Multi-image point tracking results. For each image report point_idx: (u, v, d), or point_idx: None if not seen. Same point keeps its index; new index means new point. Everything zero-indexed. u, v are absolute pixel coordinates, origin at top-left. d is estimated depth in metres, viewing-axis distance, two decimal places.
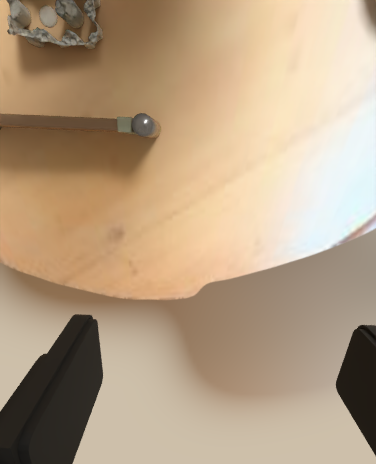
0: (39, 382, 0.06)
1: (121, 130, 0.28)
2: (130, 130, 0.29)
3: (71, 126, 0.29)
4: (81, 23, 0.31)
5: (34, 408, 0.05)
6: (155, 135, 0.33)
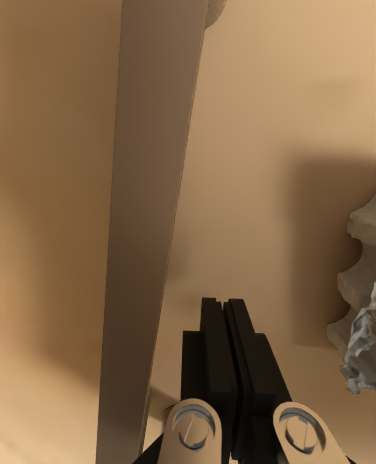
0: (216, 348, 0.07)
1: None
2: None
3: (100, 458, 0.07)
4: None
5: (227, 366, 0.06)
6: None
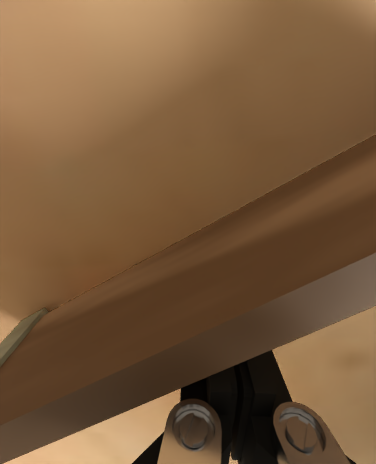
0: None
1: None
2: None
3: (85, 392, 0.06)
4: None
5: None
6: None
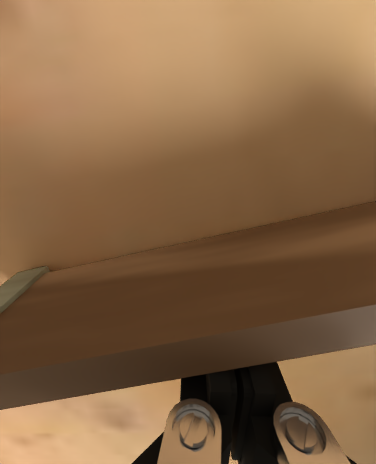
0: None
1: None
2: None
3: (124, 356, 0.06)
4: None
5: None
6: None
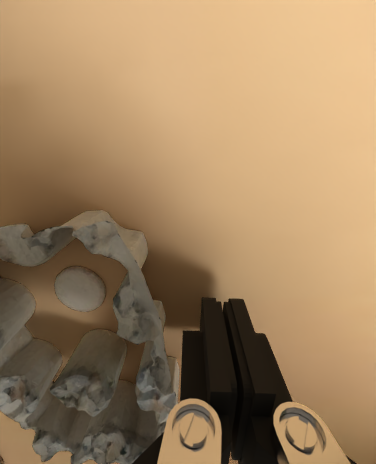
0: (216, 347, 0.07)
1: None
2: None
3: None
4: None
5: (227, 365, 0.06)
6: None
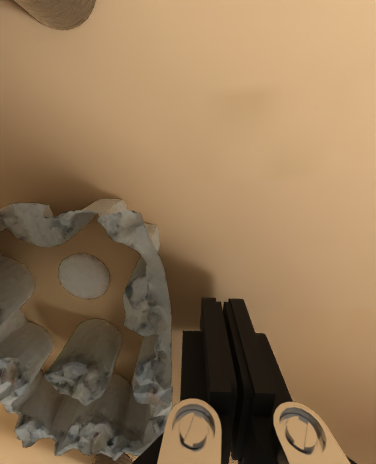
0: (216, 347, 0.07)
1: None
2: None
3: None
4: None
5: (227, 365, 0.06)
6: None
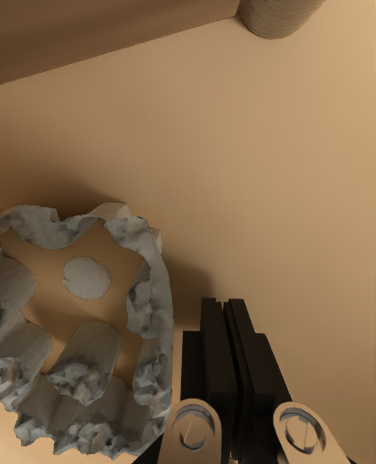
0: (216, 348, 0.07)
1: None
2: None
3: None
4: None
5: (227, 366, 0.06)
6: None
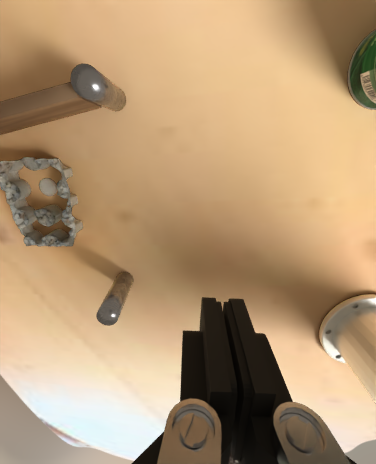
0: (216, 347, 0.07)
1: None
2: None
3: None
4: None
5: (227, 365, 0.06)
6: None
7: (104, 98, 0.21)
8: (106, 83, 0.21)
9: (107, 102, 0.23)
